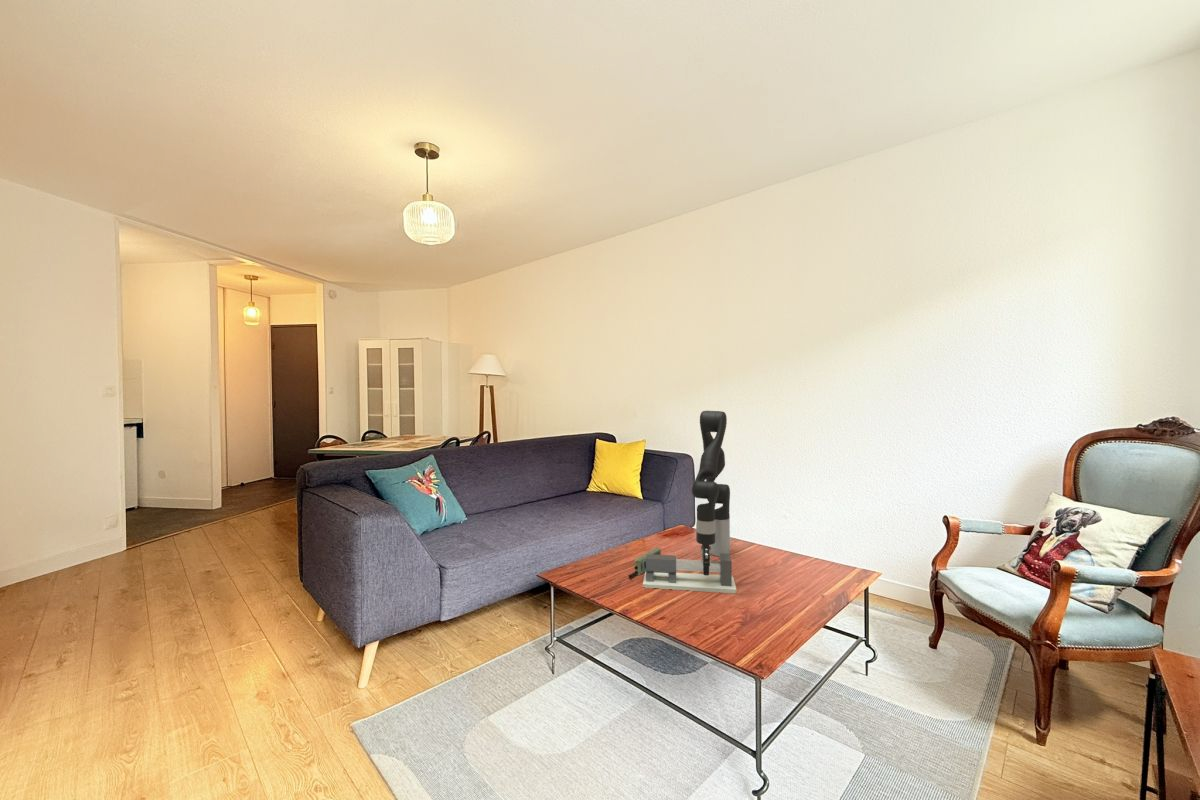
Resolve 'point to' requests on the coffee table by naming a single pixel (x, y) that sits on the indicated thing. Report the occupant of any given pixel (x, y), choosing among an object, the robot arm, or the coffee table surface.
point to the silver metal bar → (697, 565)
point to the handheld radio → (643, 562)
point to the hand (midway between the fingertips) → (706, 572)
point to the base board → (690, 583)
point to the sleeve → (661, 566)
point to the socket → (726, 570)
